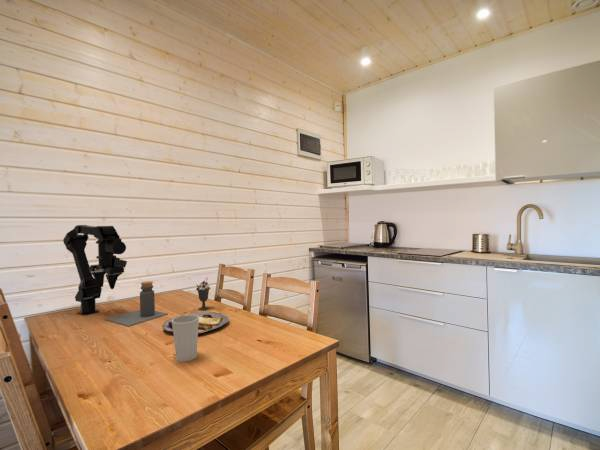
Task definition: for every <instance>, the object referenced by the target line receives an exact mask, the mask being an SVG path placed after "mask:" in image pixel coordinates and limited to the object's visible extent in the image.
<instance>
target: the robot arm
mask: <svg viewBox="0 0 600 450" xmlns="http://www.w3.org/2000/svg"><path fill="white" fill-rule="evenodd" d="M89 236H93V238H96V239H97V240H96V241H95V244H97V248H98V249H97V252H98V253H97V254H98V255H96V256H95V258H96V260H98V263H97V264H91V265H90V264H89V262H88V261H89V260H88V258H87V254H86V251H85V250H86V247H87V241H88V240H89V238H90V237H89ZM63 245H64V247H65V249H66V250H68V252H70V253H71V254H72V257H73V261H74V263H75V267H76V270H77V275H78V276H79V279H80V282H79V285H78V287H77V288H78V289H77V290H78V291H77V293H76V294H75V296H74V300H75V302H79V303H80V311H78V312H77V314H80V315H83V316H85V315H90V314H94V313H97V312H100V310H98V309H96V299H100V298H101V296H102V295H101V294H102V288H103V287H104V281H105V277H106V280H107V283H108V285H109V288H110V290H114V289H115V287H116V283H117V281H118V278H119V277H120V276H121V275H122V274H124V273H125V269H126V266H127V263H128V261H127V260H124V259H120V257H117V255H122V254H123V253H125V252H126V249H127V245H126V244H125V242H123V241H122V238H121V237H120V235H119V233H118V232H117V230H116V229H115V227H114V225H95V226H92V225H87V224H77V225H75V226H74V228H72V229H71V230H70V231H68V232H66V234H65V236H64V238H63Z"/></svg>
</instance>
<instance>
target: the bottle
mask: <svg viewBox="0 0 600 450" xmlns="http://www.w3.org/2000/svg"><path fill="white" fill-rule="evenodd" d="M153 283H154V282H153V280H148V281H142V282H140V284H141V286H140V289H141V291H140V292H139V310H140V316H141V317H149V316H153V315H154V314H155V311H156V307H155V305H156V304H155V290H154V289H153V288H154V285H153Z"/></svg>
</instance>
